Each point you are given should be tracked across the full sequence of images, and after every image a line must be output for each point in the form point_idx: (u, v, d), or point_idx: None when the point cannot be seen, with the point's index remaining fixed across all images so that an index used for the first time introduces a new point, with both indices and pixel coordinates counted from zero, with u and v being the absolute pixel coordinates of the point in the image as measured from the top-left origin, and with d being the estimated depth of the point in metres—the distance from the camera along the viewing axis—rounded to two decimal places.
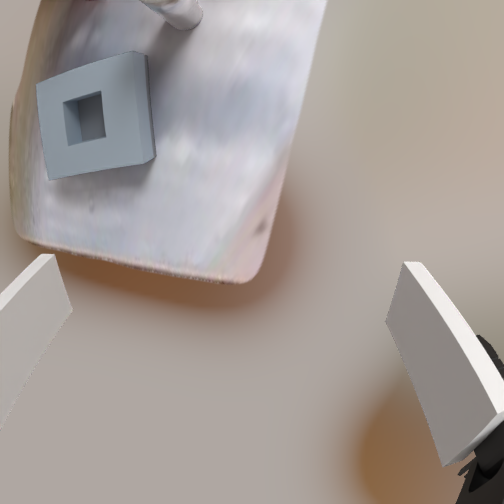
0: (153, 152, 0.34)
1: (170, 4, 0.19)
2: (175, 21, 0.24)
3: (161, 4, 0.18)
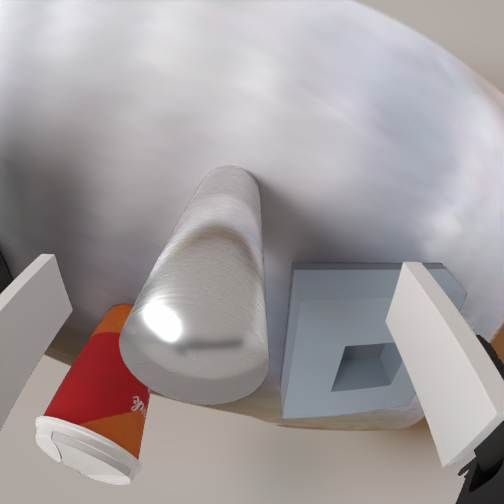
0: (439, 267, 0.21)
1: (260, 258, 0.11)
2: None
3: None
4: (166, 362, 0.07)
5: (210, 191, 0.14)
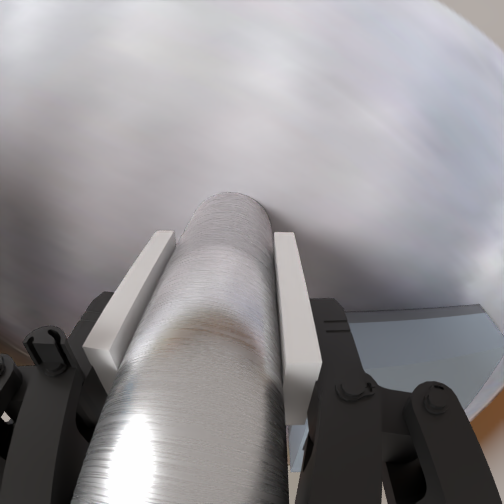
0: (478, 311, 0.16)
1: (279, 386, 0.06)
2: None
3: None
4: None
5: (199, 247, 0.09)
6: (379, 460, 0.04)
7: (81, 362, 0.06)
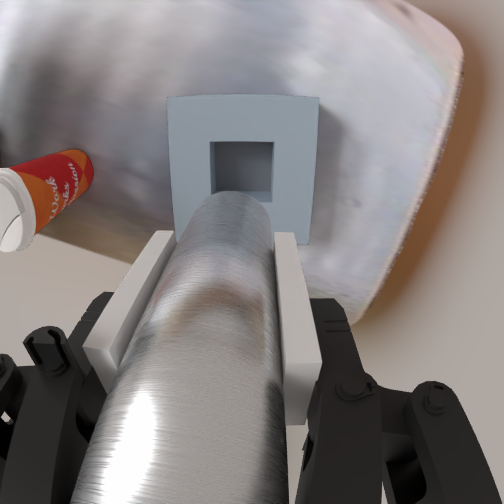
0: None
1: (279, 379, 0.06)
2: None
3: (285, 428, 0.06)
4: None
5: (200, 243, 0.09)
6: (379, 460, 0.04)
7: (81, 362, 0.06)
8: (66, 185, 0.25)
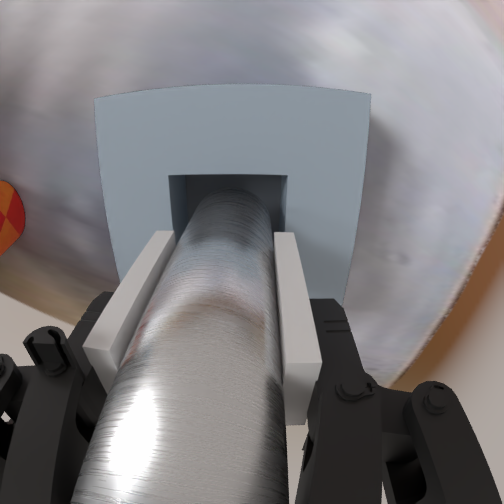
0: None
1: (278, 359, 0.07)
2: None
3: (284, 405, 0.06)
4: None
5: (204, 235, 0.10)
6: (379, 460, 0.04)
7: (81, 362, 0.06)
8: None
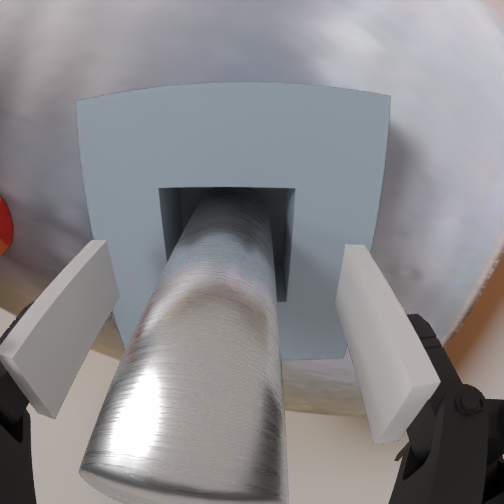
0: None
1: (276, 335, 0.07)
2: None
3: (282, 379, 0.07)
4: (146, 500, 0.04)
5: (207, 225, 0.11)
6: (481, 470, 0.03)
7: (0, 366, 0.06)
8: None
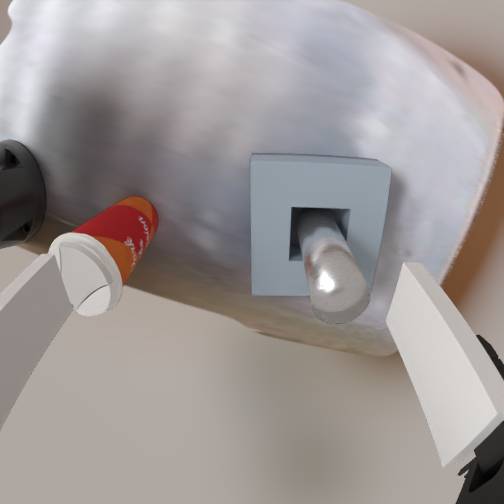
0: (372, 160, 0.29)
1: None
2: None
3: None
4: (331, 301, 0.19)
5: (319, 224, 0.26)
6: None
7: None
8: (141, 242, 0.28)
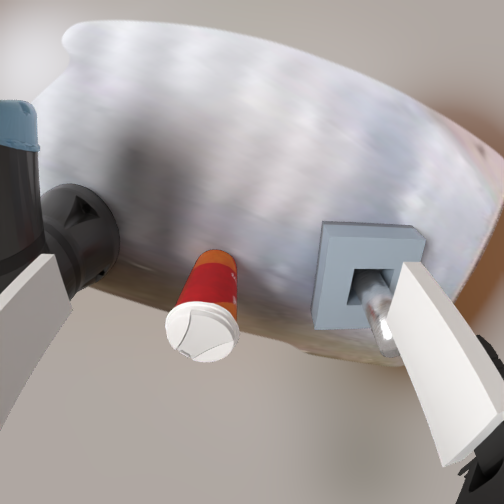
0: (410, 227, 0.37)
1: None
2: None
3: None
4: (392, 344, 0.28)
5: (375, 283, 0.34)
6: None
7: None
8: None
